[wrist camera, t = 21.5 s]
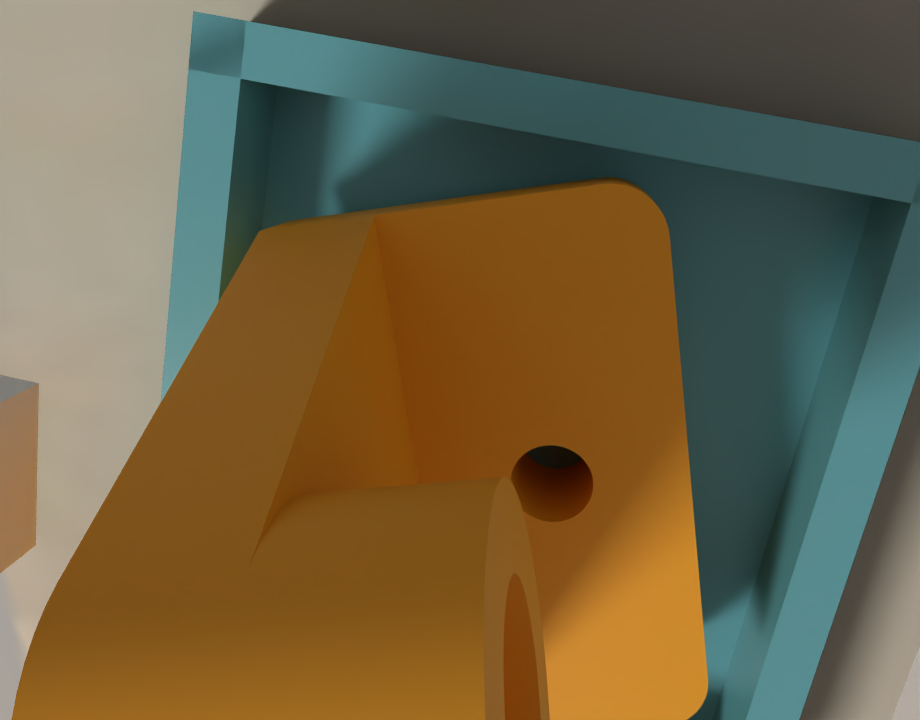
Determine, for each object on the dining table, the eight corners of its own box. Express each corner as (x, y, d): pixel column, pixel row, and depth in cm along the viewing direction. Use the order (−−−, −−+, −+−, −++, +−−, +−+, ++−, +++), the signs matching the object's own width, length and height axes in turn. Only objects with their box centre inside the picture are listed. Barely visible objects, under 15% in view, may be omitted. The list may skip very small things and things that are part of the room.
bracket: (695, 647, 20) (844, 1368, 8) (387, 661, 21) (148, 1306, 10) (653, 167, 17) (783, 257, 6) (304, 216, 18) (-158, 368, 7)
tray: (245, 26, 18) (193, 11, 16) (934, 150, 17) (991, 155, 15) (183, 642, 22) (135, 704, 20) (732, 777, 21) (750, 860, 19)
